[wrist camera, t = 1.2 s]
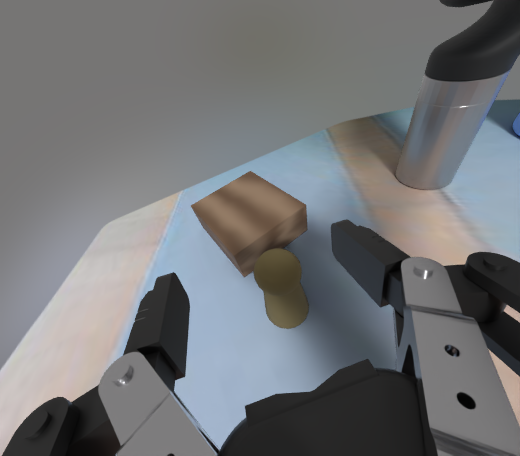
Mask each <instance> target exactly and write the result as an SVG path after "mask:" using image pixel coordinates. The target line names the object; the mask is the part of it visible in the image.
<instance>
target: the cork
mask: <svg viewBox="0 0 520 456" xmlns="http://www.w3.org/2000/svg"><path fill="white" fill-rule="evenodd" d="M301 274H302V269H301V265H300V262H299V260H298V259H297V257H296V256H295V255H294V254H293V253H291V252H290V251H288V250H285V249H282V248H274V249H270V250H268V251H266V252H264V253H263V254H262V255H261V256H260V257H259V258H258V259H257V261H256V263H255V266H254V278H255V280H256V282H257V284H258V286H259V287H260V288H261V289H262V290H263V291H264V299H265V307H266V314H267V316H268V318H269V320H270V321H271V322H272V323H273V324H274V325H276V326H278V327H280V328H286V329H289V328H294V327H296V326H298V325H300V324H301V323H302V322H303V321H304V320H305V319H306V317H307V314H308V311H309V304H308V301H307V298H306V295H305V293H304V290H303V288H302V286H301V283H300V279H301Z"/></svg>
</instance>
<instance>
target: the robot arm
mask: <svg viewBox="0 0 520 456" xmlns="http://www.w3.org/2000/svg"><path fill="white" fill-rule="evenodd" d="M488 1H492V0H440V2H441V3H442V4H444V5H446V6H449V7H465V6H470V5H474V4H479V3H483V2H488ZM519 54H520V0H494V1H493V3H492V5H491V7H490V8H489V9H488V11H487V12H486V13H485V14H484V15H483V16H482V17H481V18H480V19H479V20H478V21H477V22H475V23H474V24H473V25H472V26H470V27H469V28H467V29H466V30H464V31H463V32H461V33H460V34H458V35H456V36H454V37H452V38H451V39H449V40H447V41H445V42H443V43H442V44H440V45H439V46H437V47H436V48H435V49H434V50H433V52H432V53H431V55H430V57H429V60H428V63H427V67H426V70H425V74H424V77H423V80H422V84H421V87H420V91H419V94H418V98H417V101H416V105H415V108H414V111H413V115H412V118H411V122H410V125H409V128H408V132H407V135H406V139H405V142H404V145H403V149H402V152H401V155H400V159H399V162H398V166H397V169H396V173H395V174H396V177H397V179H398V180H399V181H400V182H402V183H403V184H405V185H407V186H410V187H413V188H417V189H426V190H430V189H439V188H442V187H445V186H447V185H448V184H449V183H451V181H452V179H453V177H454V176H455V174H456V172H457V170H458V168H459V166H460V164H461V163H462V161H463V159H464V157H465V155H466V153H467V151H468V149H469V148H470V146H471V144H472V142H473V140H474V138H475V136H476V134H477V133H478V131H479V129H480V127H481V125H482V123H483V121H484V119H485V117H486V116H487V114H488V112H489V110H490V108H491V106H492V104H493V102H494V101H495V99H496V97H497V94H498V93H499V91H500V89H501V87H502V85H503V83H504V81H505V79H506V78H507V76H508V74H509V72H510V70H511V68H512V66H513V64H514V62H515V61H516V59H517V57H518V56H519ZM331 237H332V251H333V254H334V256H335V258H336V259H337V261H338V262H339V263H340V264H341V265H342V266H343V267H344V268H345V269H346V270H347V272H348V273H349V274H350V275H351V276H352V277H353V278H354V279H355V280H356V281H357V283H358V284H359V285H360V286H361V287H362V288H363V289H364V290H365V291H366V292H367V293H368V295H369V296H370V297H371V298H372V299H373V300H374V301H375V302H376V303H377V304H378V306H379V307H383V306H386V305H388V304H390V305H391V306H392V307H393V308H394V310H393V318H394V331H395V344H396V371H395V370H390V369H382V368H374V367H373V366H372V364H371V363H370V361H369V360H368V359H366V360H364V361H361V362H358V363H356V364H353V365H351V366H348V367H345V368H343V369H340V370H338V371H337V372H336V373H335V374H333V375H332V376H331V377H330V378H328V379H327V380H326V381H325V382H324V383H322V384H321V385H320V386H319V387H317V388H316V389H315V390H313V391H311V392H300V393H283V394H275V395H272V396H270V397H267V398H265V399H262V400H259V401H257V402H254V403H252V404H249V405H246V406H245V410H246V418H245V419H244V420H242V421H241V422H240V423H239V424H238V425H237V426H236V427H235V428H234V430H233V431H232V432H231V434H230V435H229V436H228V438H227V439H226V441H225V442H224V444H223V445H222V447H221V449H219V448H218V447H217V445H216V444H215V443H214V441H213V440H212V439H211V438H210V437H209V435H208V434H207V433H206V432H205V430H204V429H203V428H202V427H201V425H200V424H199V423H198V421H197V420H196V419H195V418H194V416H193V415H192V414H191V412H190V411H189V410H188V408H187V407H186V406H185V405H184V403H183V402H182V401H181V399H180V398H179V397H178V395H177V394H176V393H175V392H174V386H175V380H177V379H180V378H183V377H185V371H186V356H187V342H188V327H189V312H190V303H189V298H188V296H187V293H186V292H185V290H184V288H183V286H182V284H181V282H180V280H179V279H178V277H177V275H176V274H175V273H174V272H173V273H170V274H167V275H164V276H160V277H158V278H157V279H156V282H155V285H154V289H153V290H152V291H149V292H148V293H147V294H146V295H145V297H144V298H143V299H142V301H141V303H140V306H139V309H138V313H137V315H136V318H135V322H134V324H133V327H132V330H131V333H130V336H129V339H128V342H127V345H126V348H125V351H124V354H123V356H122V357H120V358H119V359H117V360H116V361H115V362H114V363H113V364H112V365H111V366H110V367H109V368H108V369H107V370H106V372H105V373H104V375H103V376H102V378H101V381H100V383H99V385H98V386H96V387H95V388H93V389H91V390H90V391H88V392H87V393H85V394H84V395H82V396H80V397H79V398H77V399H76V400H74V401H73V402H70V401H69V400H67V399H66V398H64V397H57V398H53V399H51V400H49V401H47V402H45V403H44V404H42V405H41V406H39V407H38V408H37V409H36V410H34V411H33V412H32V413H31V414H30V415H29V416H28V417H27V418H26V419H25V420H24V421H23V423H22V424H21V425H20V426H19V428H18V429H17V430H16V432H15V433H14V435H13V437H12V438H11V440H10V442H9V444H8V446H7V447H6V449H5V451H4V453H3V455H2V456H116V453H117V456H520V426H519V424H518V421H517V419H516V417H515V414H514V412H513V409H512V407H511V404H510V402H509V399H508V397H507V394H506V392H505V390H504V387H503V385H502V382H501V380H500V377H499V375H498V372H497V370H496V368H495V365H494V363H493V360H492V358H491V355H490V353H489V350H490V351H491V352H493V353H494V354H495V355H496V356H497V357H498V358H499V359H500V360H502V361H503V362H504V363H505V364H506V365H507V366H508V367H509V368H511V369H512V370H513V371H514V372H515V373H516V374H517V375H519V376H520V323H519V322H518V321H517V320H515V319H514V318H512V317H511V316H510V315H508V314H507V313H505V312H504V309H505V307H506V305H509V306H510V307H512V308H513V309H515V310H516V311H518V312H519V313H520V263H519V262H517V261H515V260H513V259H511V258H509V257H506V256H503V255H500V254H496V253H490V252H477V253H473V254H471V255H469V256H468V258H467V261H466V264H464V265H450V266H442V265H441V264H440V263H438V262H436V261H434V260H431V259H428V258H423V257H410V256H408V255H407V254H406V253H404V252H403V251H401V250H400V249H398V248H397V247H395V246H394V245H393V244H391V243H390V242H388V241H385V239H384V238H382V237H381V236H379V235H378V234H377V233H375V232H374V231H372V230H371V229H368V228H366V227H363V226H356V225H355V224H353V223H352V222H351V221H349V220H343V221H340V222H337V223H333V224H332V225H331ZM488 349H489V350H488Z"/></svg>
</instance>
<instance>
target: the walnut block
mask: <svg viewBox="0 0 520 456" xmlns="http://www.w3.org/2000/svg"><path fill="white" fill-rule="evenodd" d="M191 207H192V209H193V211H194V212H195V214H196V216H197V218H198V219H199V221H200V223H201V225H202V226H203V228H204V229H205V230H206V231H207V233H208V234H209V235H210V236H211V237H212V239H213V240H214V241H215V242H216V244H217V245H218V246H219V247H220V248H221V250H222V251H223V252H224V253H225V254H226V256H227V257H228V258H229V259H230V261H231V262H232V263H233V264H234V265H235V267H236V268H237V269H238V270H239V271H240V273H241V274H242V275H243V276H244V277H246V276H247V275H248V274H250V273H251V272H252V271H254V266H255V263H256V261H257V259H258V258H259V257H260V256H261V255H262V254H263V253H264V252H266V251H268V250H270V249H274V248H282V249H283V248H284V247H285V246H287V245H288V244H289V243H291V242H292V241H293V240H295V239H296V238H297V237H299V236H300V235H301V234H303V233H304V232H305V231H307V214H306V205H305V204H304V203H302V202H300V201H299V200H297V199H295V198H294V197H292V196H291V195H289V194H287V193H286V192H284V191H282V190H281V189H279V188H277V187H276V186H274V185H273V184H271V183H269V182H268V181H266V180H264V179H263V178H261V177H259V176H258V175H256V174H255V173H253V172H251V171H249V172H248V173H246V174H244V175H242V176H241V177H239V178H237V179H236V180H234V181H232V182H230V183H229V184H227V185H225V186H224V187H222V188H220V189H219V190H217V191H215V192H213V193H212V194H210V195H208V196H207V197H205V198H203V199H201V200H200V201H198V202H196V203H195V204H193V205H191Z"/></svg>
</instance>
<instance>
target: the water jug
mask: <svg viewBox="0 0 520 456" xmlns="http://www.w3.org/2000/svg"><path fill="white" fill-rule="evenodd" d="M513 130H514V132H515V133H516V134H517V135H518V136H520V113H519V114H518V116H517V117H516V119H515V120H514V122H513Z"/></svg>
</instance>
